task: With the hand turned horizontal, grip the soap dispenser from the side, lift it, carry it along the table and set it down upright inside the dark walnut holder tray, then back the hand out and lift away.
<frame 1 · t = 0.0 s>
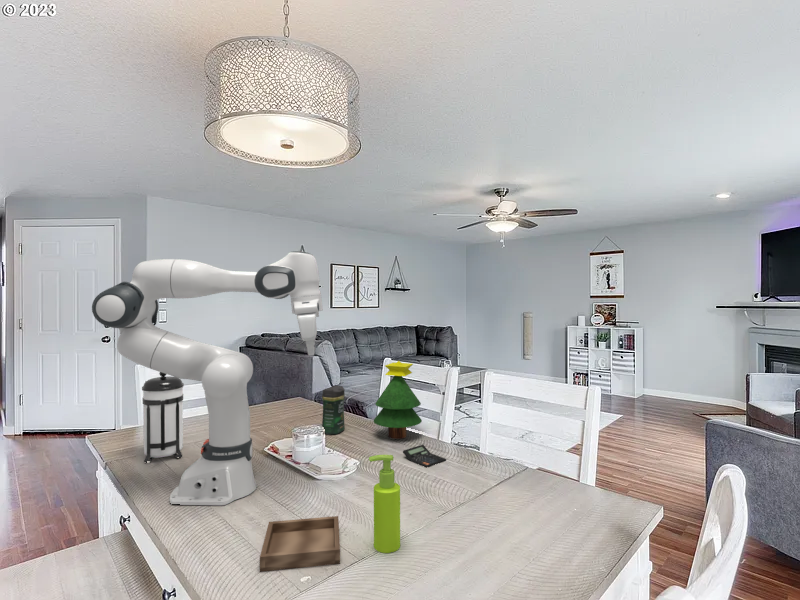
hand: (312, 353, 129), 39 cm above the table, tool pointing down, fingers open, 8 cm apart
soap dispenser: (384, 546, 97), on the table
calculator: (424, 460, 149), on the table
decorative tree: (397, 436, 174), on the table
holder tray: (302, 548, 96), on the table
coffee jar: (333, 432, 179), on the table
coffee press: (164, 458, 151), on the table
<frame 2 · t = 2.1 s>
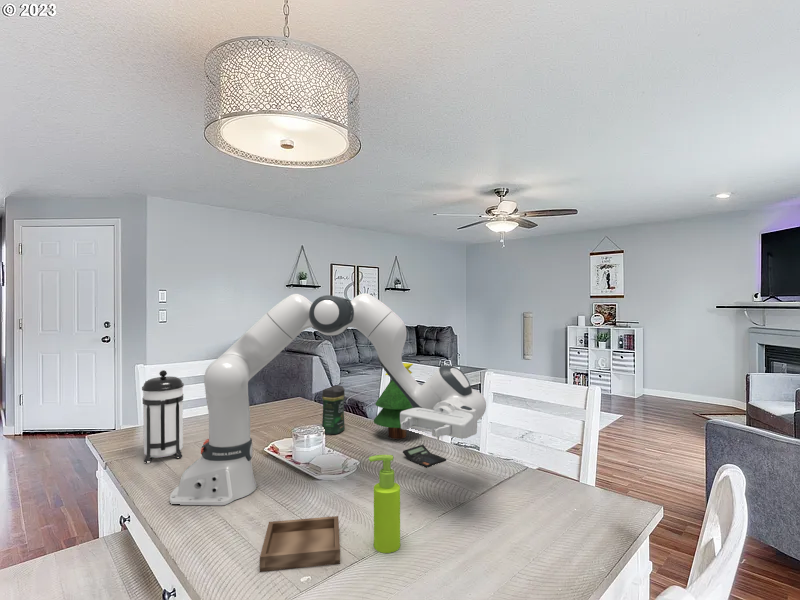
hand: (418, 429, 107), 23 cm above the table, tool horizontal, fingers open, 8 cm apart
nothing on the table moved.
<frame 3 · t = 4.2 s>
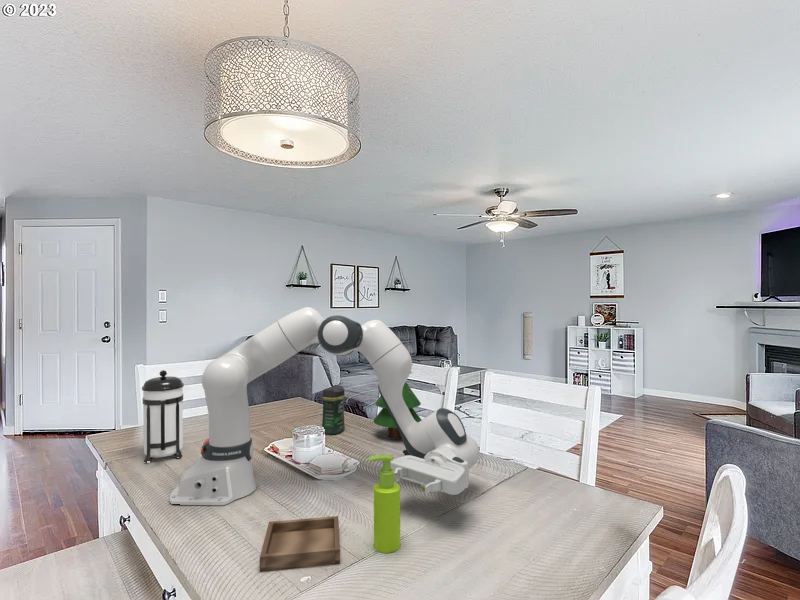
hand: (407, 484, 104), 11 cm above the table, tool horizontal, fingers open, 8 cm apart
nothing on the table moved.
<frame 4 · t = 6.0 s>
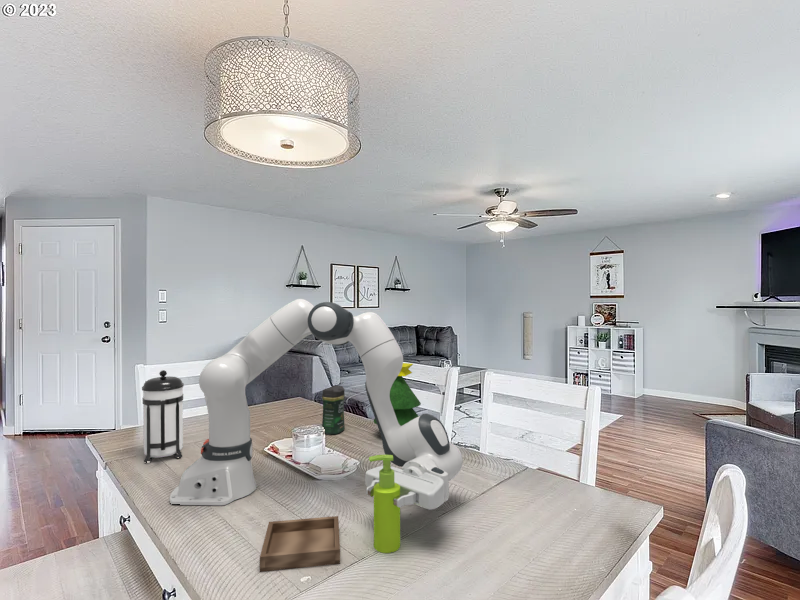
hand: (381, 497, 96), 11 cm above the table, tool horizontal, fingers open, 7 cm apart
soap dispenser: (384, 546, 97), on the table, touching gripper
everything else where it was.
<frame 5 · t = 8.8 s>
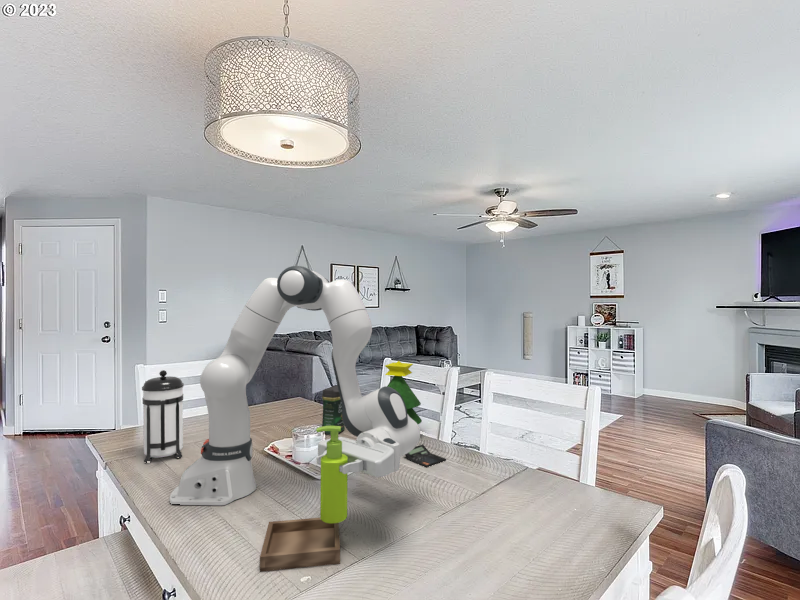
hand: (329, 465, 96), 18 cm above the table, tool horizontal, fingers closed on soap dispenser, 6 cm apart
soap dispenser: (331, 517, 97), point 6 cm above the table, touching gripper
everything else where it was.
when the fingers open (13 cm above the table, at t = 11.3 s): soap dispenser stays where it is, resting on holder tray.
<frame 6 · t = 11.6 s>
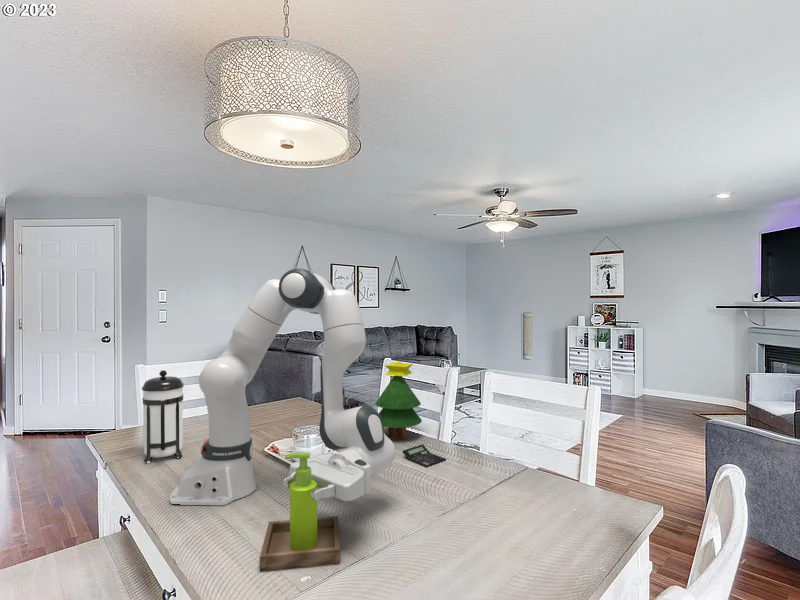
hand: (298, 489, 95), 13 cm above the table, tool horizontal, fingers open, 8 cm apart
soap dispenser: (301, 544, 97), point 1 cm above the table, touching holder tray
everything else where it was.
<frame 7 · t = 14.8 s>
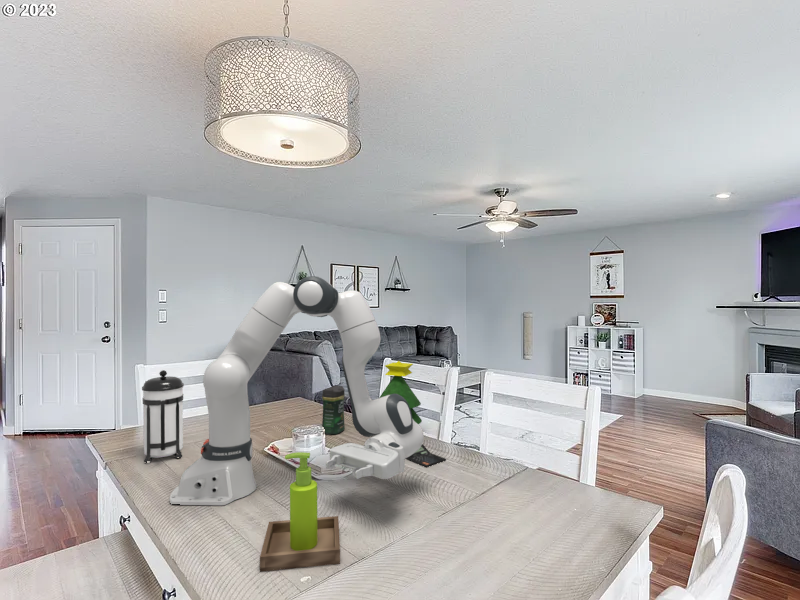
hand: (340, 470, 106), 13 cm above the table, tool horizontal, fingers open, 8 cm apart
nothing on the table moved.
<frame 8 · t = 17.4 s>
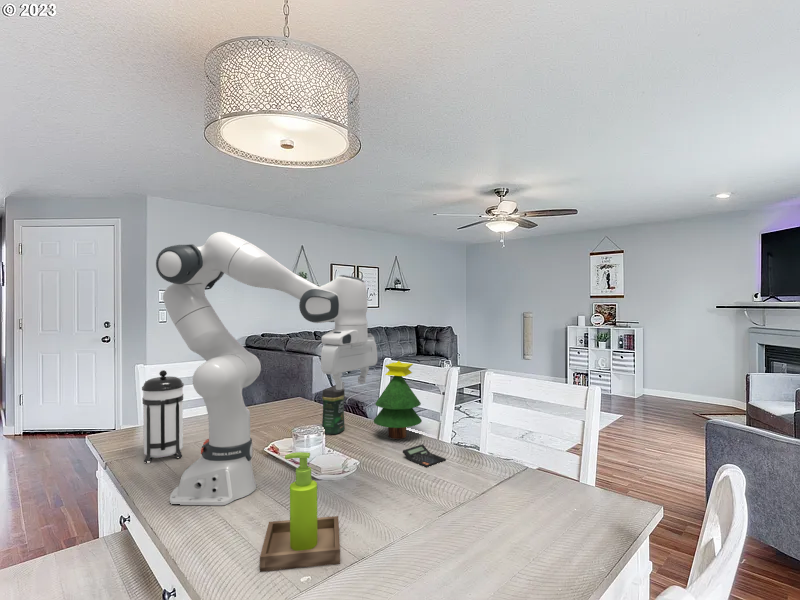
hand: (351, 386, 119), 31 cm above the table, tool pointing down, fingers open, 8 cm apart
nothing on the table moved.
at the end: soap dispenser inside the target area on the holder tray (0.4 cm from its centre), point 0.6 cm above the holder tray's base; soap dispenser tilted 0°; the gripper is holding nothing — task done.
